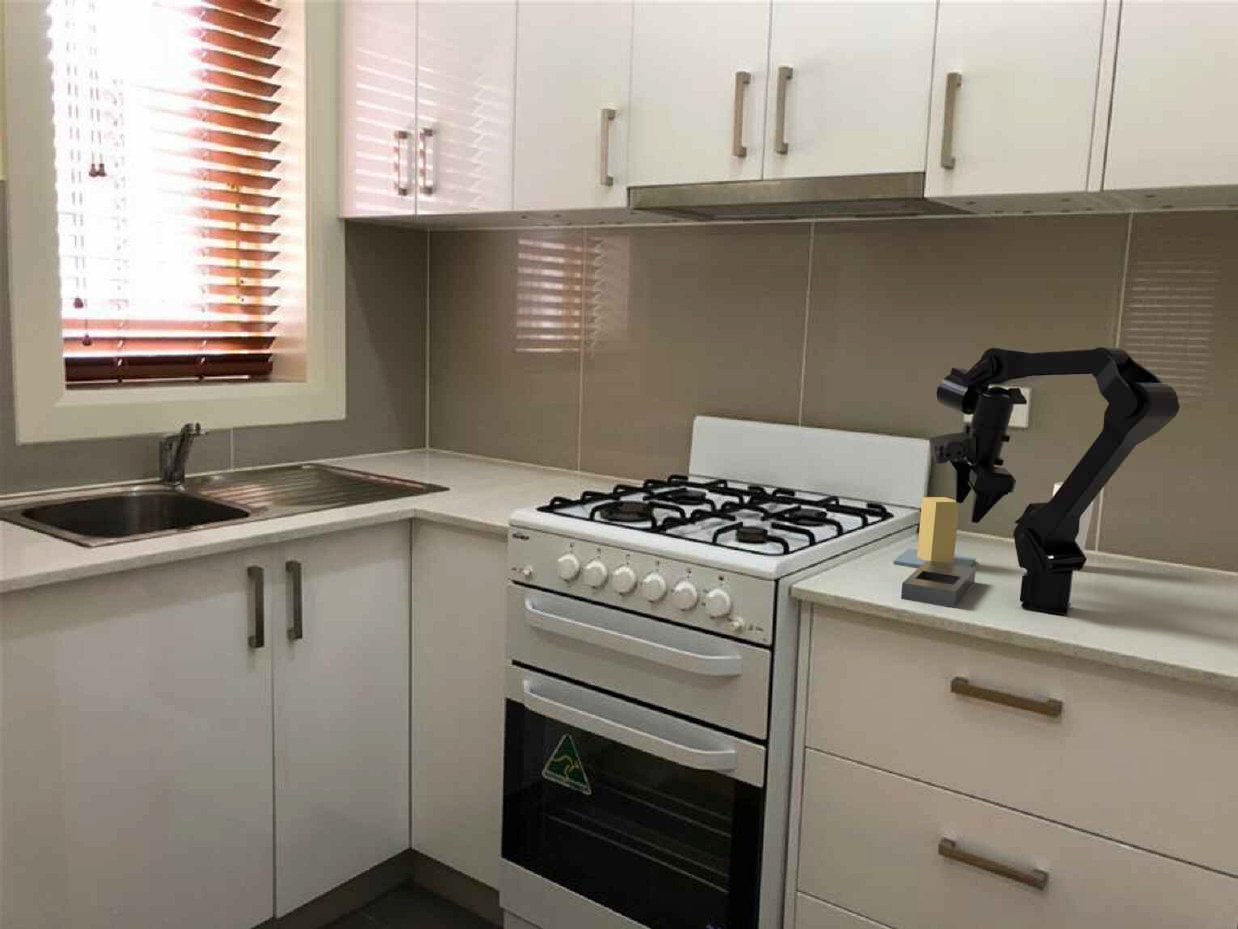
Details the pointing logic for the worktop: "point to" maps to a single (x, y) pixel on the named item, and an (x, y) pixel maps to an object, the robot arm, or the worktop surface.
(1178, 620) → the worktop surface
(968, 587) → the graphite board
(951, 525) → the mustard block
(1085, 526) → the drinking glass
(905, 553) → the slate mat
